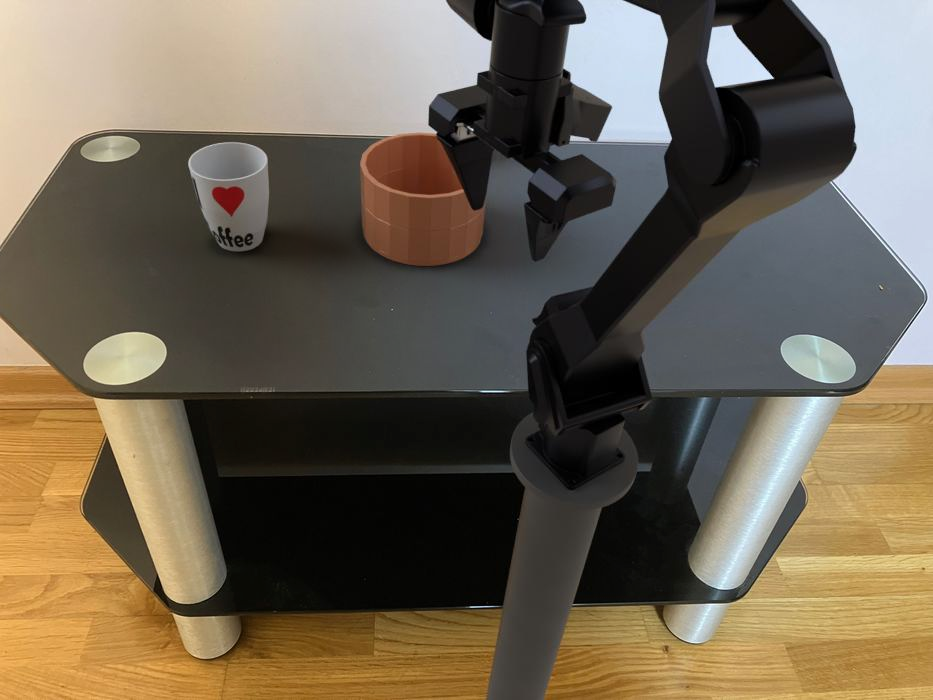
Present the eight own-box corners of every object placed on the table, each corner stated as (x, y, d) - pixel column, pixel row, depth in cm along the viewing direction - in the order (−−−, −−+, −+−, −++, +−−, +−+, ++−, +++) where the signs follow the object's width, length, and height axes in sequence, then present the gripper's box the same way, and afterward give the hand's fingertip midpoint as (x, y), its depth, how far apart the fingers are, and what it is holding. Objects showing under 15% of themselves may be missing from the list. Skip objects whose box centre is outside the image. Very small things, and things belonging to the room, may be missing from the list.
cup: (189, 247, 88) (172, 168, 81) (231, 212, 94) (218, 135, 87) (251, 267, 86) (238, 188, 79) (290, 229, 92) (281, 153, 85)
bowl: (505, 243, 92) (513, 176, 86) (402, 280, 86) (403, 210, 80) (440, 187, 101) (443, 122, 95) (341, 217, 94) (338, 149, 88)
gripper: (686, 92, 59) (641, 260, 69) (533, 9, 69) (514, 165, 80) (574, 124, 54) (544, 300, 64) (427, 29, 64) (422, 193, 75)
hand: (506, 233), depth 71 cm, fingers open, 9 cm apart
